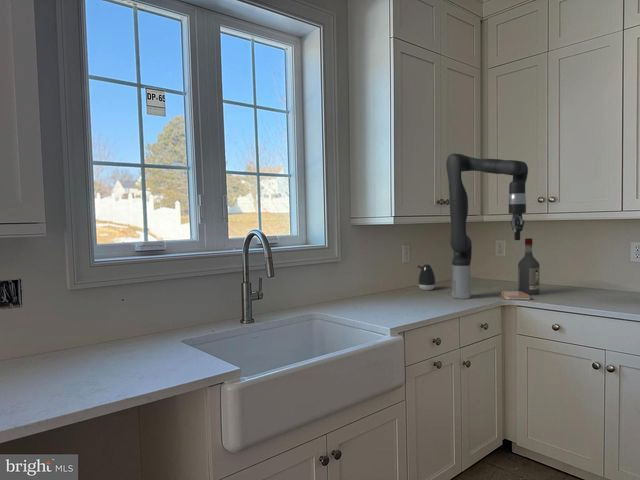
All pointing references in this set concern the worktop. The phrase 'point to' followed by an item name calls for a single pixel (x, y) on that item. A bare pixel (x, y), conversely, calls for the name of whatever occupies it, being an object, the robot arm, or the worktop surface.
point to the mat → (512, 299)
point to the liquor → (528, 271)
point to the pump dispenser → (426, 277)
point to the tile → (515, 295)
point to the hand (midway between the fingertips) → (517, 240)
